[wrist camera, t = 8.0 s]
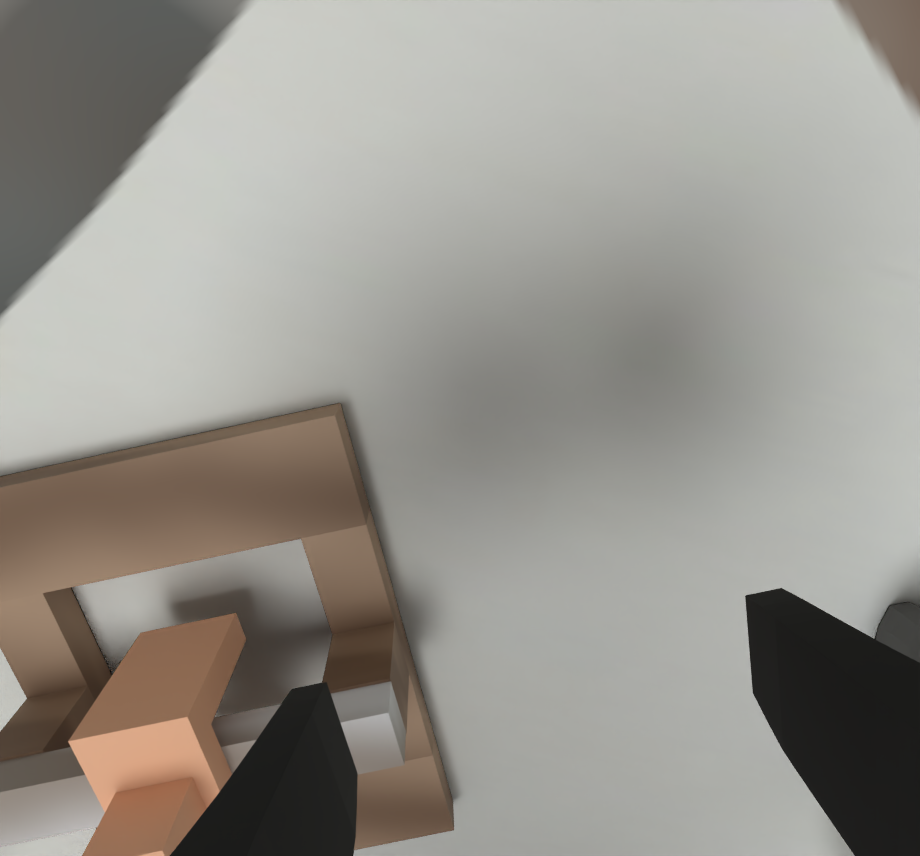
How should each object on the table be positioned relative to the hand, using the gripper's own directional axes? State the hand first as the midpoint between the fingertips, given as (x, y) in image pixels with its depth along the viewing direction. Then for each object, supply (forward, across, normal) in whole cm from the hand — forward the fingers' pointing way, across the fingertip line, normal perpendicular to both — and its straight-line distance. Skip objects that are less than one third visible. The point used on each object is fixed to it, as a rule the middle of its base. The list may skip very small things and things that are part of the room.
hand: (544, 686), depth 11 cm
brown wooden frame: (+10, +10, +5) cm, 15 cm away
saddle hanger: (+8, +10, +5) cm, 14 cm away
